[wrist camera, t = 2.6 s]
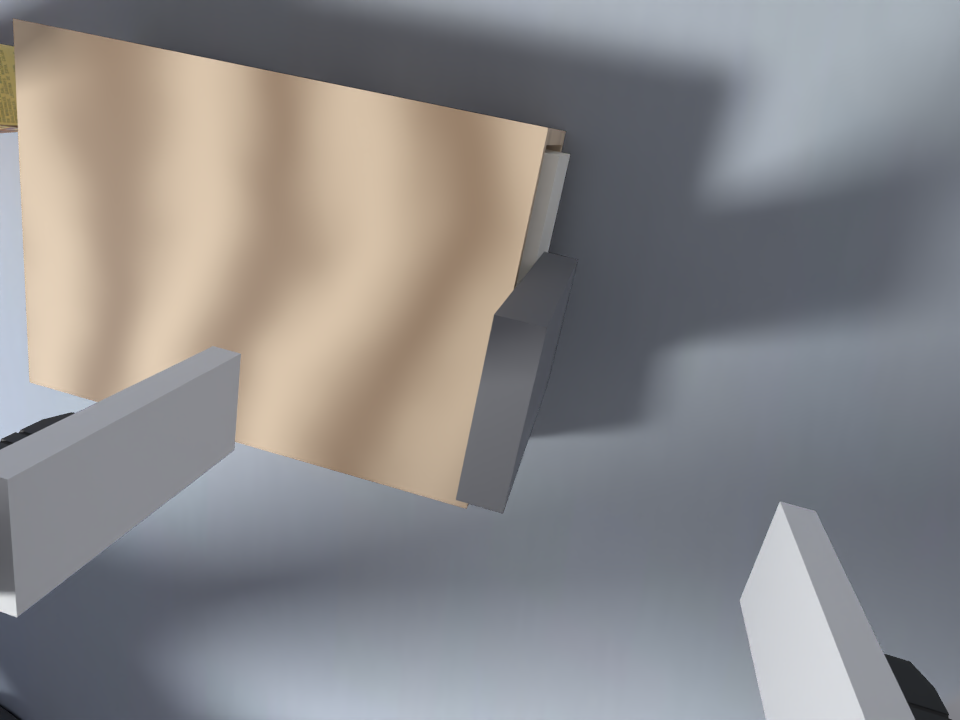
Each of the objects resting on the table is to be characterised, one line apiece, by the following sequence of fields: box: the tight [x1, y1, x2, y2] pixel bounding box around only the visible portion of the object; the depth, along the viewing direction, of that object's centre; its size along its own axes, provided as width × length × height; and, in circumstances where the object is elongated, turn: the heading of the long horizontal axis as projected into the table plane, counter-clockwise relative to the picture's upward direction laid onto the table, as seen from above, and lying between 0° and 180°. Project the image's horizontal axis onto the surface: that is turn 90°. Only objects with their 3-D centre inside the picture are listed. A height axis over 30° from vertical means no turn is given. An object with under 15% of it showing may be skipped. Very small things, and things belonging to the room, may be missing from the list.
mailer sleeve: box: [13, 19, 566, 509], centre depth 31 cm, size 22×16×7 cm
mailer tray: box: [456, 149, 578, 513], centre depth 27 cm, size 22×14×14 cm, turn 79°
